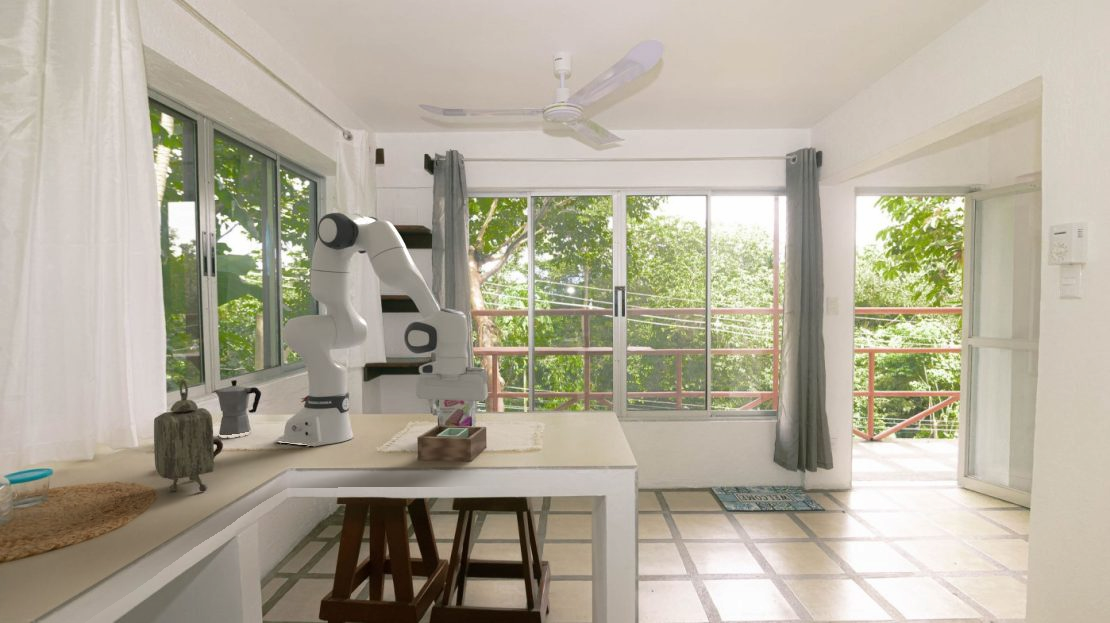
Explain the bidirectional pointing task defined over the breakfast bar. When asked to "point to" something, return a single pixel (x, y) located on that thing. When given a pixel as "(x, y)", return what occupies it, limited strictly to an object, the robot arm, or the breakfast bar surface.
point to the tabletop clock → (184, 442)
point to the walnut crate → (451, 444)
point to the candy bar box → (455, 413)
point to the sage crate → (454, 433)
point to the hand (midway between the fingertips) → (452, 415)
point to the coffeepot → (236, 408)
